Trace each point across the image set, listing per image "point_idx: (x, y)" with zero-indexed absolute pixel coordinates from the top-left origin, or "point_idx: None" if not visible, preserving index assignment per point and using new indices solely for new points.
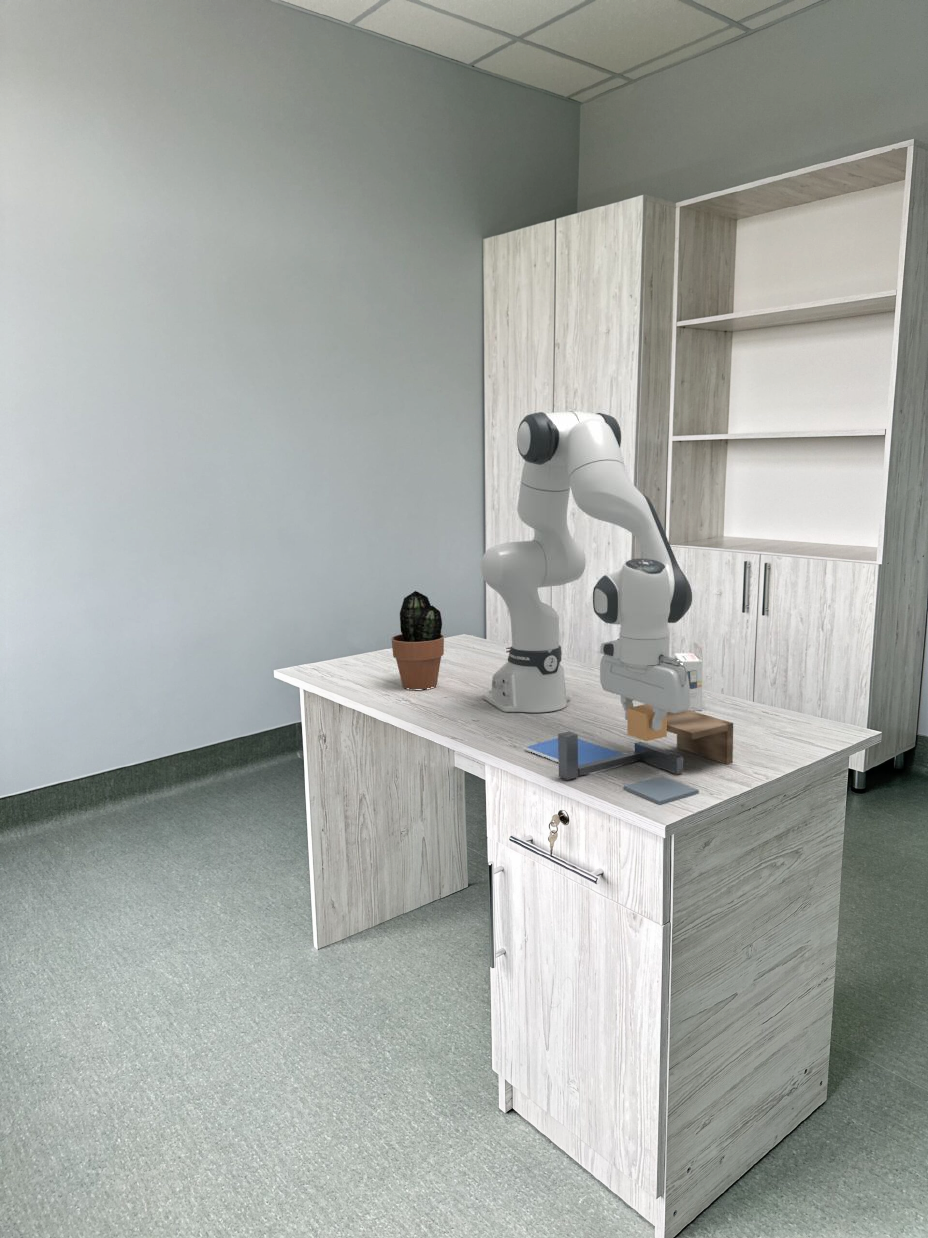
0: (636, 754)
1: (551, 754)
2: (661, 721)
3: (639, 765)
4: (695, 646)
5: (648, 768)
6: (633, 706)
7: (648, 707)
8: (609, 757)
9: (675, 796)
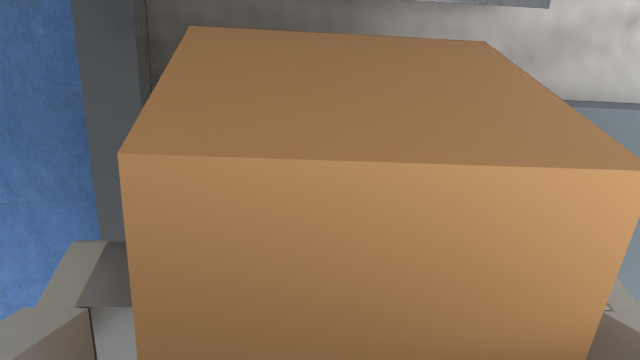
0: (132, 6)
1: None
2: (629, 304)
3: (202, 20)
4: None
5: (282, 18)
6: (37, 342)
7: (325, 310)
8: (8, 110)
9: None
